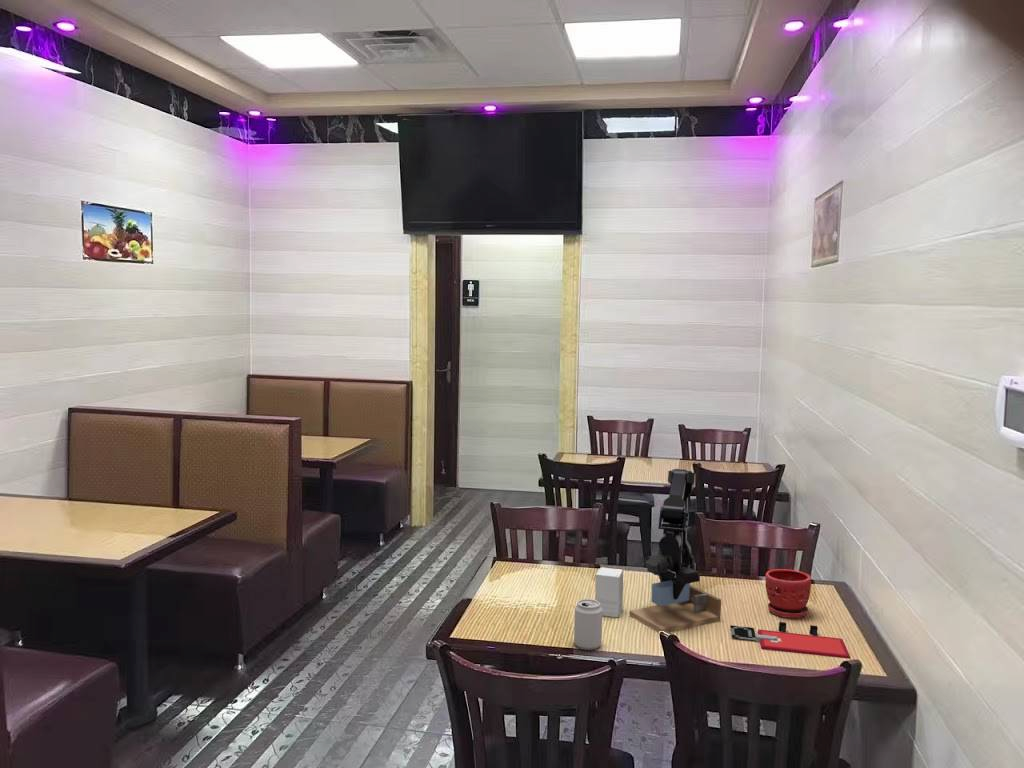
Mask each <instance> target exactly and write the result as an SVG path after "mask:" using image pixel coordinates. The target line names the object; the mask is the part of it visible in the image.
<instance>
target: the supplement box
mask: <svg viewBox="0 0 1024 768" xmlns="http://www.w3.org/2000/svg"><path fill="white" fill-rule="evenodd" d="M594 576H595V583H594V585H595V587H594V589H595V591H594V592H595V593H594V595H595V596H594V598H595V599H594V600H596V601H598V602H599V603H600V606H601V607H602V617H609V616H610V617H612V618H617V617H618V618H619V617H620V616H621V613H622V612H623V610H624V608H623V607H624V604H623V603H624V602H623V601H624V569H618V568H611V567H609V568H608V567H603V566H602V567H600V568H599V569H598V571H597V572H596V573H595V575H594Z"/></svg>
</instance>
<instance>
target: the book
mask: <svg viewBox="0 0 1024 768" xmlns="http://www.w3.org/2000/svg"><path fill="white" fill-rule="evenodd" d="M690 585H691V583H688V584H686V585H685V586H684V588H683V590H682V591H681V593H680V595H679V597H678V599H676V600H675V599H674V597H673V582H672V581H671V580H669V581H664V582H661V581H660V582H659V581H658V582H655V583H652V584H651V603H653V604H655V605H659V606H664V605H669V604H674V603H678V602H683V601H688V600H689V590H690Z"/></svg>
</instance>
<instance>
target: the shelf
mask: <svg viewBox="0 0 1024 768" xmlns="http://www.w3.org/2000/svg"><path fill="white" fill-rule="evenodd" d="M721 609H722V599H721V598H719V597H716V596H715V595H713V594H710V593H709V592H706V591H704V590H702V589H700V588H697V587H696V586H693V585H691V584H690V590H689V600H688V601H683V602H678V603H674V604H669V605H664V606H659V605H657V604H655V605H652V606H646V607H641V608H636V609H631V610H629V615H630V616H629V617H631V618H633V619H634V618H635V619H634V620H636V619H637V620H636V621H638V620H639V621H638V622H640V623H641V622H642V623H641V624H643V623H644V624H643V625H645V624H646V625H645V626H647V627H648V626H649V627H648V628H650V627H651V628H650V629H652V628H653V629H652V630H653V631H655V630H656V631H655V632H657V633H659V631H668V633H671V632H672V633H673V632H676V631H681V630H685V629H690V628H694V627H699V626H703V625H707V624H712V623H716V621H717V622H720V621H721V617H722V616H721V615H722V614H721V612H722V611H721Z"/></svg>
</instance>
